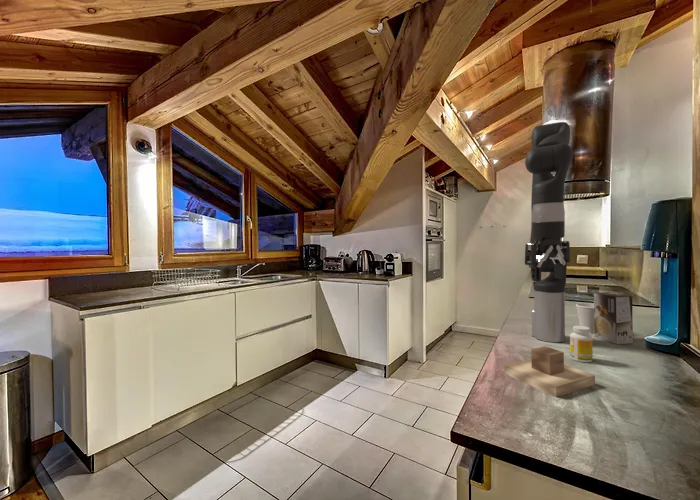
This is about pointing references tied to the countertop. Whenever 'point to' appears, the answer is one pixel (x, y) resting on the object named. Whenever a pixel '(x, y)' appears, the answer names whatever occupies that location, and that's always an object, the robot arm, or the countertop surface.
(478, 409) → the countertop surface
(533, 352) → the walnut cube
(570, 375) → the maple block
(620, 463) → the countertop surface
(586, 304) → the dixie cup
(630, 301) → the coffee box
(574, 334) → the supplement bottle
